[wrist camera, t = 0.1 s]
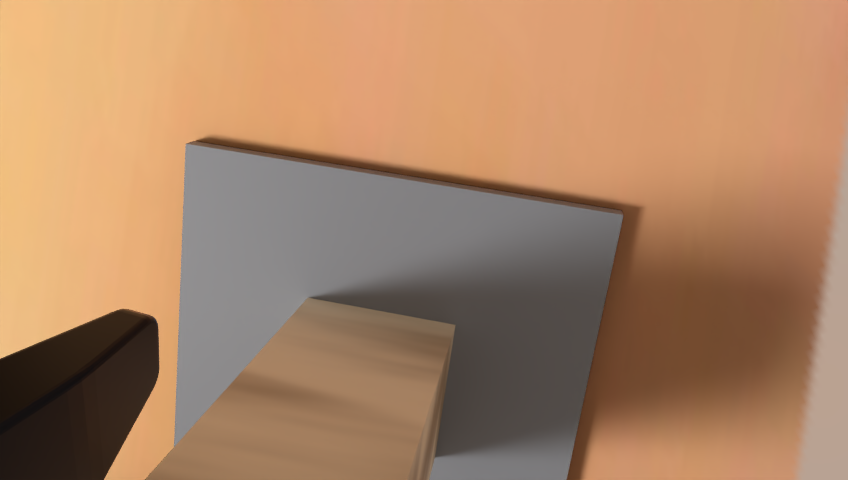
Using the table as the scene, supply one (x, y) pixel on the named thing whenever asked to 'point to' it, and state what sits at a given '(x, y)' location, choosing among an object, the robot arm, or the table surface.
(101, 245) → the table surface
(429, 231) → the slate tile
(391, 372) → the birch block
